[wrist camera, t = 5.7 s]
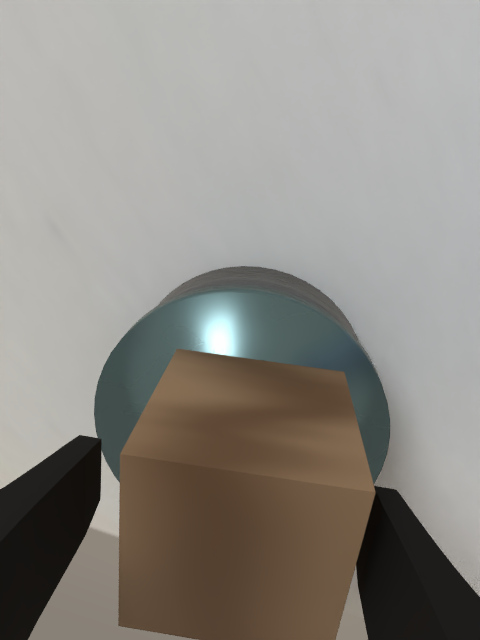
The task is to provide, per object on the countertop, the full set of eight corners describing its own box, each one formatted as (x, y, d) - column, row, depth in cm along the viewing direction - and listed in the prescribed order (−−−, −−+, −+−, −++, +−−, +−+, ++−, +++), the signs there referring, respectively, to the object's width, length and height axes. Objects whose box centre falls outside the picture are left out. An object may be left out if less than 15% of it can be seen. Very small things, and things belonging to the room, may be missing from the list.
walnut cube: (344, 371, 13) (375, 492, 9) (316, 503, 15) (328, 661, 10) (177, 348, 14) (119, 453, 9) (169, 480, 15) (118, 625, 11)
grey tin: (391, 274, 16) (422, 313, 12) (345, 484, 20) (359, 563, 16) (133, 246, 17) (89, 274, 13) (133, 454, 20) (98, 524, 16)
